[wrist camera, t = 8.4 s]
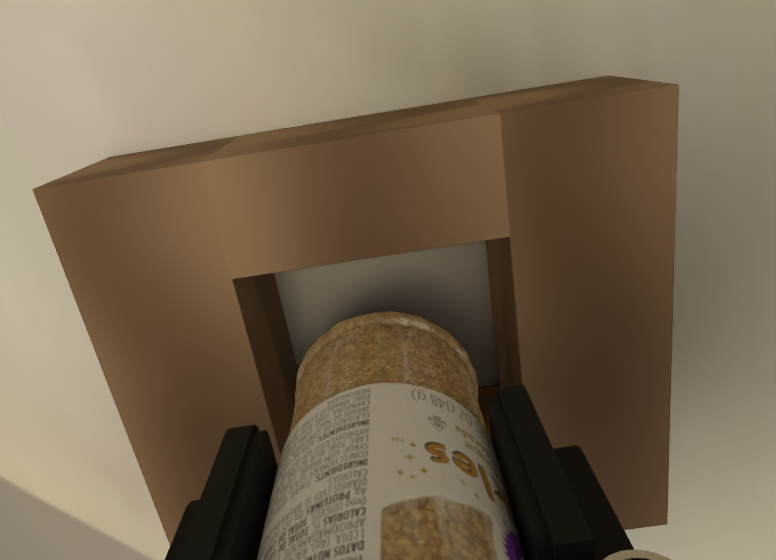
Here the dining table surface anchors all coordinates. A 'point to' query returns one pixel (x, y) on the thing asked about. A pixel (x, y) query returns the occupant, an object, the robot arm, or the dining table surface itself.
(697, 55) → the dining table surface
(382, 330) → the sprinkles bottle
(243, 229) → the socket board
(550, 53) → the dining table surface
